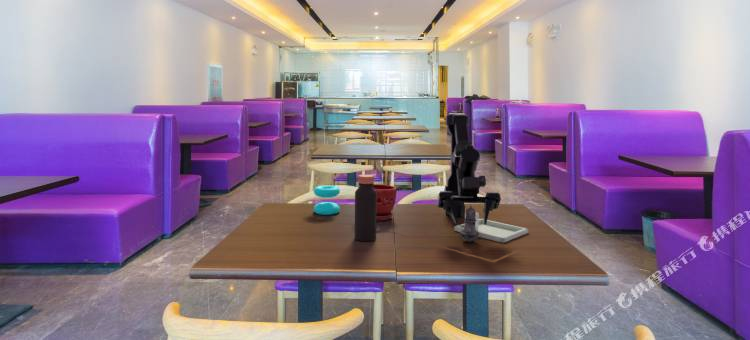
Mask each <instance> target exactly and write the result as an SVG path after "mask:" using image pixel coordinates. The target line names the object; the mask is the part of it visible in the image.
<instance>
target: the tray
mask: <svg viewBox="0 0 750 340" xmlns="http://www.w3.org/2000/svg"><path fill="white" fill-rule="evenodd" d="M464 228H465V222H464V223H461V224H457V225H455V226H454V228H453V230H454V231H455V232H457V233H460V231H462V230H464ZM478 232H479V233H480V234H479V235H478V238H483V239H487V240H490V241H494V242H499V243H502V244H504V243H506V242H509V241H511V240H513V239H516V238H519V237H522V236H524V235H526V234H528V233H529V228H527V227H522V226H518V225H512V224H508V223H503V222H499V221H495V220H490V219H487V223H486V225H485V224H484V218H479V221H478Z"/></svg>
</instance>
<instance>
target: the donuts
mask: <svg viewBox="0 0 750 340" xmlns="http://www.w3.org/2000/svg"><path fill="white" fill-rule="evenodd" d="M340 191H341V189H340V188H339V187H338V186H335V185H319V186H315V187H314V189H313V194H314V195H315V196H316V197H319V198H325V199H326V198H335V197H337V196H338V195H339V194H340ZM340 210H341V209H340V205H339V204H337V203H335V202H330V201H324V202H318V203H317V204H315V205H314V207H313V212H314V213H315V214H317V215H323V216H331V215H336V214H338V213H339V212H340Z"/></svg>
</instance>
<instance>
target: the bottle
mask: <svg viewBox="0 0 750 340" xmlns="http://www.w3.org/2000/svg"><path fill="white" fill-rule="evenodd" d="M357 181H358V188H356V190H355V191H354V239H355V240H356V241H358V242H367V243H368V242H373V241H375V240H377V220H376V213H377V191H376V190H375V189H374V188H373V185H374V184H375V175H373V174H359V175H357Z"/></svg>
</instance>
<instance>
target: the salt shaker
mask: <svg viewBox="0 0 750 340" xmlns="http://www.w3.org/2000/svg"><path fill="white" fill-rule="evenodd" d="M465 212H466V219H465V218H464V223H465V228H464V230H462V231H460V232H459V233H460V237H461V238H462V239H463V241H465V243H467V244H472V243H474V242H475V241H476V240H478V239H479V237H478V235H479V234H480V233H479V232H478V231H476V229H475V222H476V220H475V214H476V212H477V211H476V210H475V209H474V208H473V206H472V205H470V206H469V207H468V208H467V209H465Z"/></svg>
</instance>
